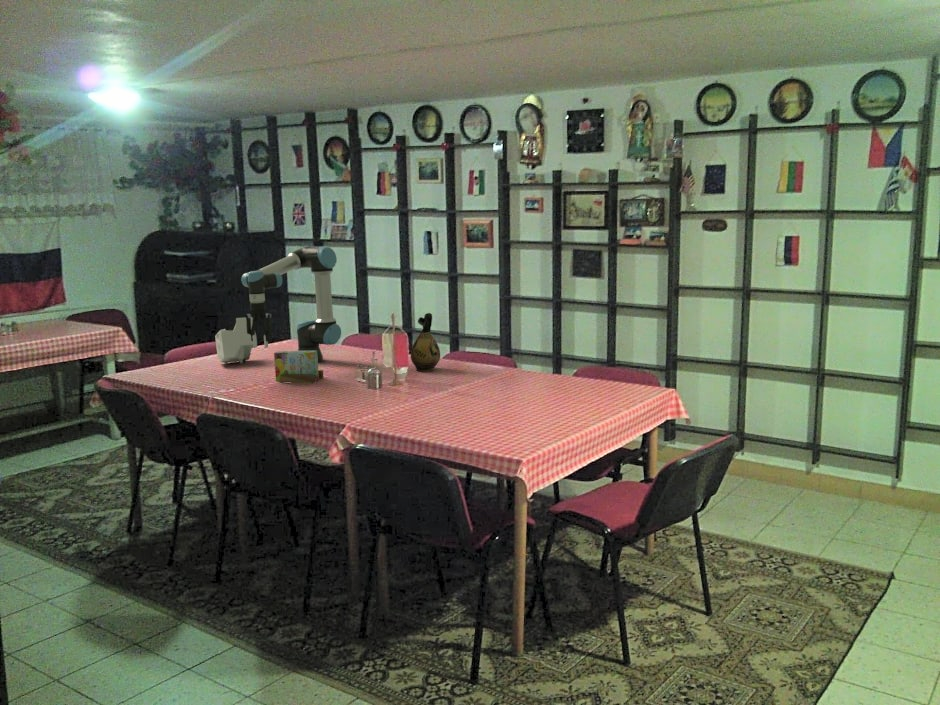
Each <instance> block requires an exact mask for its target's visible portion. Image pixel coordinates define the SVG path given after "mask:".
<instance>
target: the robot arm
mask: <svg viewBox="0 0 940 705" xmlns="http://www.w3.org/2000/svg"><path fill="white" fill-rule="evenodd" d="M336 264H337V254H336V252H335V251H334V250H333V248H331V247H330V246H322V245H319V246H312V245H311V246H310V245H309V246H308V245H307V246H305V247H301V248H298V249H296V250H294V251H292V252H290V253H288V255H287V256H285V257H283V258H281V259H279V260H277V261H275V262H273V263H270V264H269V265H266V266H264V267H262V268H259V269H258V270H251V271H249V272H245V273H243V274H242V276H241V284H242V286H244V287H246V288H248V294H249V302H250V303H249V308H250V312H249V313H247V314H245V317H246V323H247V334H250V335H251V341H253V348H252V349H257V348H258V340H257V339H258V338H257V334H256V335H254V334H255V333H256V329H257V323H258V321H259V322H260V323H261V327H262V330H263V332H264V335H263V342H264V349H268V348H269V342H270V334H273V325H272V317H273V315H272V313H268V312H267V311H266V296H265V290H268V289H274V288H275V289H276V288H277V289H278V288H280V287H281V286H282V284H283V277H282V275H285V274H286V273H289V272H290V271H291V272H292V270H295V271H297V270H299V269H302V268H303V269H304V268H306V269H307V268H308V269H309V268H310V271H311V273H312V274H313V275H314V286H315V290H314V291H315V300H316V301H315V303H316V316H317V318H315V319H310V320H304V321H299V322H297V325H296V332H297V333H296V335H297V336H296V337H297V346H298V348H297V351H313V350H317V355H318V363H321V362H323V361H324V356H323V354H322V351H321V348H320V345H325V346H329V345H330V346H334V345H336V344H337V343H338V342H339V340H340V338H341V336H342V328H341V326H340V325H339V324H337V320H336V318H334V312H333V311H334V310H333V296H332V295H333V294H332V282H331V274H332V272H333V270H334V269H333V268H334V267H336ZM251 317H252V318H253V320H252V322H253V323H252V328H251V319H250V318H251ZM320 361H321V362H320Z"/></svg>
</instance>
